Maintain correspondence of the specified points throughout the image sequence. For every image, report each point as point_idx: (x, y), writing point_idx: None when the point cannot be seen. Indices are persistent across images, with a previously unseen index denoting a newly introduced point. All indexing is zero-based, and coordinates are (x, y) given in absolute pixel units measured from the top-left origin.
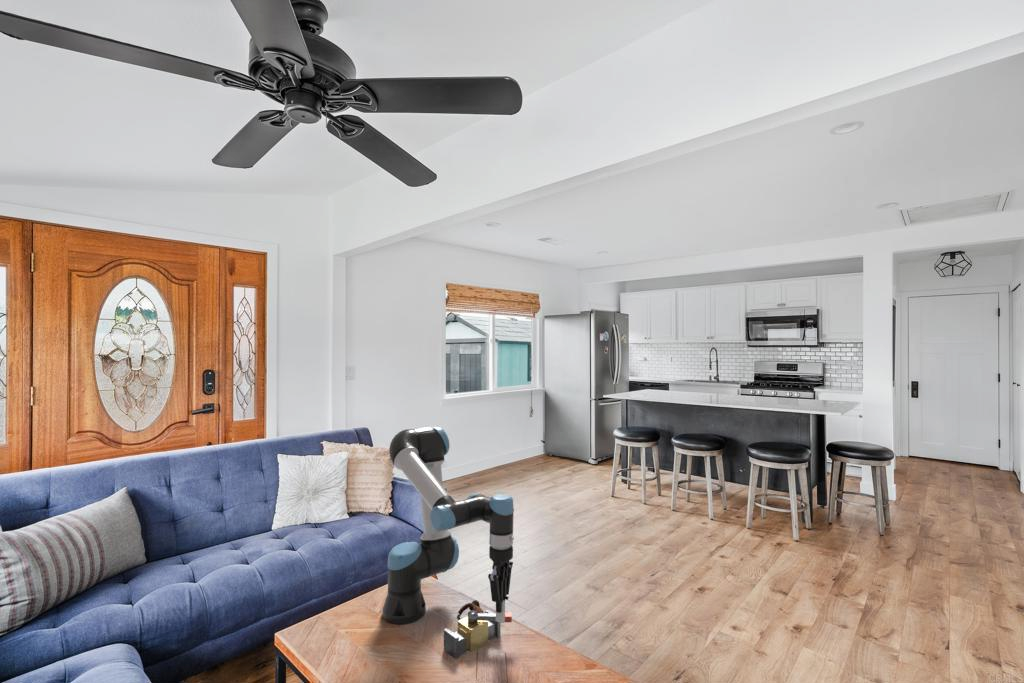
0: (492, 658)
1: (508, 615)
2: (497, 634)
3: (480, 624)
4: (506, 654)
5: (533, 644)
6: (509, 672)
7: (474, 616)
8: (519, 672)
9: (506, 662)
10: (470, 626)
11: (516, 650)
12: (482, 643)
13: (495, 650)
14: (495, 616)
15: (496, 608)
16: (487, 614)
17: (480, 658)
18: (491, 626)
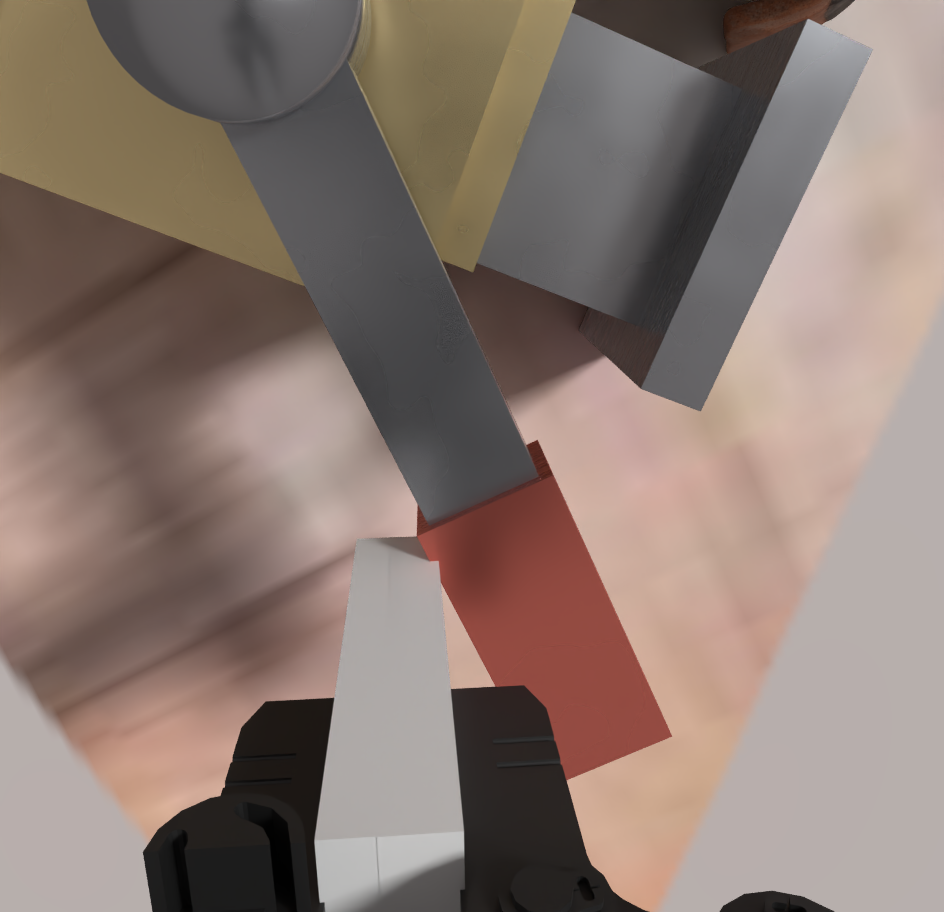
0: (191, 472)
1: (558, 727)
2: (589, 335)
3: (250, 236)
4: (340, 570)
5: None
6: (93, 727)
7: (156, 88)
8: (152, 801)
9: (216, 633)
10: (77, 79)
11: (460, 628)
12: None
13: (342, 428)
14: (427, 515)
15: (228, 785)
16: (416, 322)
17: (108, 347)
18: (546, 287)
